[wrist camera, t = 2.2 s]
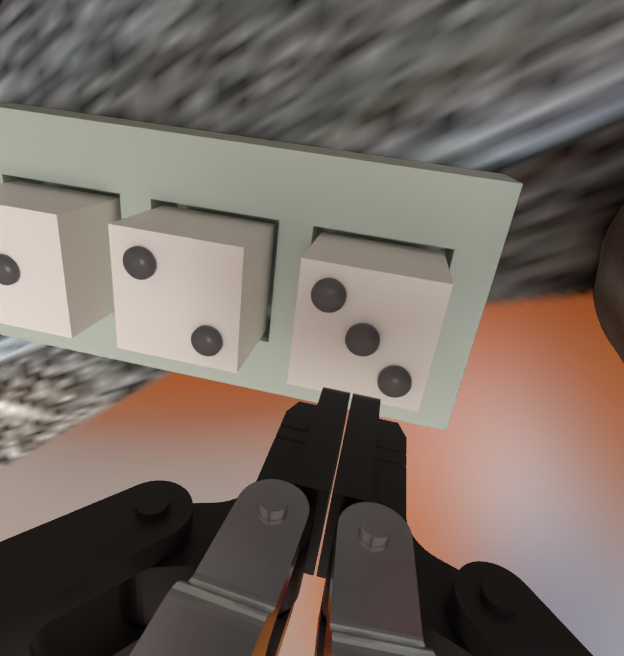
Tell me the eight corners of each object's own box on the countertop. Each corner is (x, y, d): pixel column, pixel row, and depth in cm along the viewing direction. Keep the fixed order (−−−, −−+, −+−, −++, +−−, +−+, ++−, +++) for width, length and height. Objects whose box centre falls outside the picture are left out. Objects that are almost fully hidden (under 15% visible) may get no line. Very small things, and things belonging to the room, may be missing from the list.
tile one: (18, 180, 20) (-71, 194, 17) (120, 198, 20) (52, 215, 16) (34, 284, 22) (-42, 317, 19) (126, 303, 22) (68, 340, 18)
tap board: (18, 103, 22) (-47, 100, 19) (504, 173, 19) (522, 184, 16) (48, 310, 27) (1, 334, 24) (440, 390, 24) (446, 430, 21)
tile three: (321, 231, 19) (299, 259, 15) (444, 252, 18) (453, 286, 14) (307, 339, 21) (285, 386, 17) (416, 360, 20) (418, 414, 16)
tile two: (163, 205, 19) (104, 225, 16) (275, 224, 19) (242, 249, 15) (165, 310, 22) (114, 350, 18) (266, 330, 21) (235, 375, 17)
